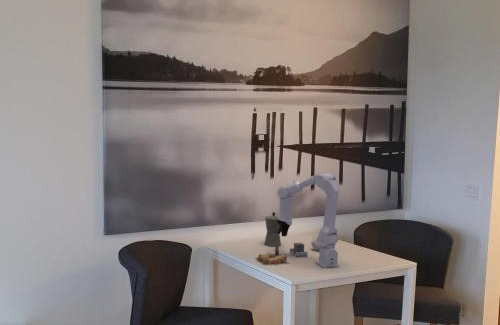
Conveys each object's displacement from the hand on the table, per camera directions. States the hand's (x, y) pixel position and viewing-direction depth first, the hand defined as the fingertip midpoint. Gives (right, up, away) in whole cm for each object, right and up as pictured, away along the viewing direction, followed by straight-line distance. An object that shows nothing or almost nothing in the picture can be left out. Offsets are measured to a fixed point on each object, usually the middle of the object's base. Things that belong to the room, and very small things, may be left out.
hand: (284, 236), depth 291 cm
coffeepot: (-5, -8, +19) cm, 21 cm away
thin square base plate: (-7, -10, -13) cm, 18 cm away
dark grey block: (+7, -9, 0) cm, 12 cm away
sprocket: (-7, -10, -13) cm, 18 cm away
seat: (+7, -10, 0) cm, 12 cm away
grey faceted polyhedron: (+19, -9, +12) cm, 24 cm away
